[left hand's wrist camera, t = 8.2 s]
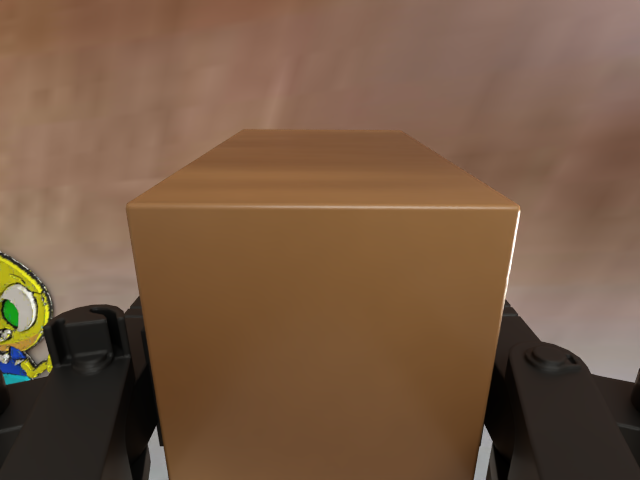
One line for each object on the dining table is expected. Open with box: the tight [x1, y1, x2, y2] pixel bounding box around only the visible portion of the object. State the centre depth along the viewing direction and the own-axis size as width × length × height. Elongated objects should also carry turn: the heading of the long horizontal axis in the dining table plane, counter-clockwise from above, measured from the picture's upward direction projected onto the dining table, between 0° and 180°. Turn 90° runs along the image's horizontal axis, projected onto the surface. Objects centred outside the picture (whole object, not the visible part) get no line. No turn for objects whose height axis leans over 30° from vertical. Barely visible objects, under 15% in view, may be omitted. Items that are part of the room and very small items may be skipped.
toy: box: [0, 252, 53, 385], centre depth 34 cm, size 10×1×15 cm
